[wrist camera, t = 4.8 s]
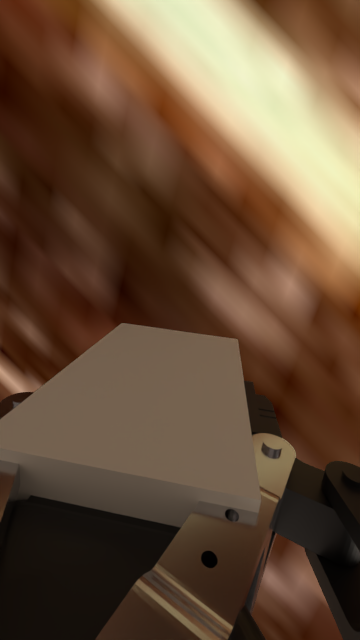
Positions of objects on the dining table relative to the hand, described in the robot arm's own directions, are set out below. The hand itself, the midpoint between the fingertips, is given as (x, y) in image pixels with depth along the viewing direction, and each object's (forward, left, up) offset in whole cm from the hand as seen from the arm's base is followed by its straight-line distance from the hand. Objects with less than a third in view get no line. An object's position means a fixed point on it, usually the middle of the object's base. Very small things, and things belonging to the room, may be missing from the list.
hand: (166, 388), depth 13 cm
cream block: (0, 0, -2) cm, 2 cm away
